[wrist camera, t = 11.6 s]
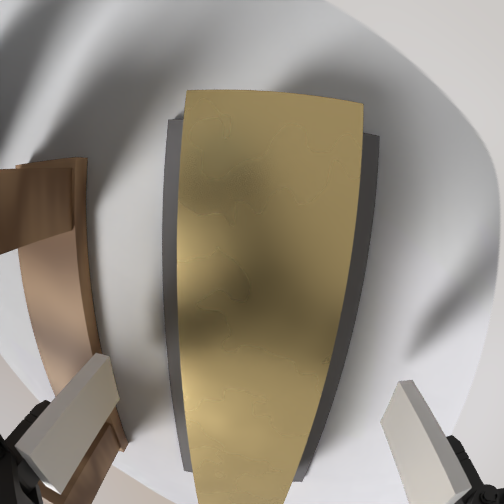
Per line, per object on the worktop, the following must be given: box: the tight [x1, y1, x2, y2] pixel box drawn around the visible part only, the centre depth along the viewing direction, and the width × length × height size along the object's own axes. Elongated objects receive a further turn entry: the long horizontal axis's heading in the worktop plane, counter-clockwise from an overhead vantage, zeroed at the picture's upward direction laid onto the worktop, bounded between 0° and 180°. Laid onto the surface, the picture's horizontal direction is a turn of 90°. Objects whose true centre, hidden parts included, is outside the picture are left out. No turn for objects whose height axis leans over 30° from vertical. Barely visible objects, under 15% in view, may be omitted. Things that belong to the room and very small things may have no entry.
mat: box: [162, 119, 379, 482], centre depth 14 cm, size 23×9×1 cm, turn 176°
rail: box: [177, 90, 363, 504], centre depth 11 cm, size 22×4×6 cm, turn 176°
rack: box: [0, 157, 128, 504], centre depth 9 cm, size 20×6×11 cm, turn 176°
